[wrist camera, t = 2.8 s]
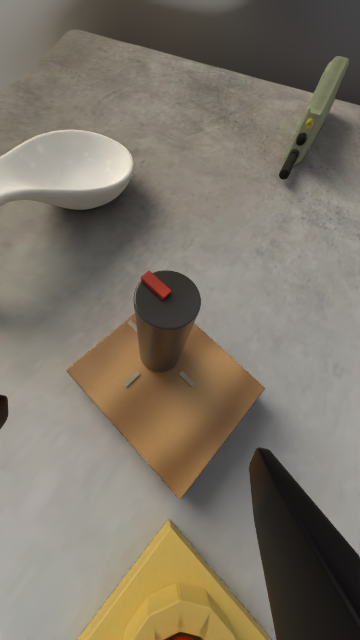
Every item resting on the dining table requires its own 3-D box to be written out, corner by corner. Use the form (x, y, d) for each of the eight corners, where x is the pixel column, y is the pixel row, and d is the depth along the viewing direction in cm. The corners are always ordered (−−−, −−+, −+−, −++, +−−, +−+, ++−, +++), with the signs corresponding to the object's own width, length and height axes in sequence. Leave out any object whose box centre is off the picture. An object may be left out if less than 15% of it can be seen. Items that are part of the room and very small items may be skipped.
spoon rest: (72, 146, 32) (53, 75, 26) (152, 180, 31) (152, 116, 25) (-82, 278, 23) (-175, 217, 16) (27, 333, 22) (-25, 292, 15)
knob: (187, 352, 20) (216, 296, 12) (159, 381, 19) (168, 341, 10) (160, 326, 21) (168, 255, 12) (131, 352, 19) (118, 292, 11)
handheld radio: (327, 110, 44) (291, 188, 34) (309, 104, 45) (269, 180, 34) (353, 59, 38) (319, 135, 28) (333, 53, 39) (292, 125, 28)
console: (253, 392, 22) (266, 387, 19) (176, 491, 18) (180, 501, 16) (159, 304, 24) (160, 291, 22) (74, 376, 21) (64, 369, 18)
